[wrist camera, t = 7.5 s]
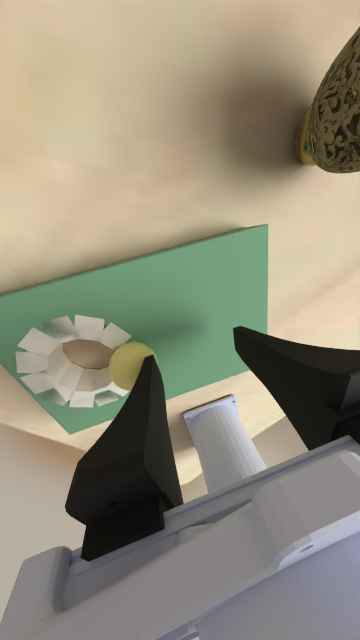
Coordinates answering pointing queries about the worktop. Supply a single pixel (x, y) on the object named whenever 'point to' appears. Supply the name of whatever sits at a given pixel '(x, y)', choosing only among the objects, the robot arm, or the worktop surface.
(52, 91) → the worktop surface
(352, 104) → the cup
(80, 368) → the green rectangular slab
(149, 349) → the ball
